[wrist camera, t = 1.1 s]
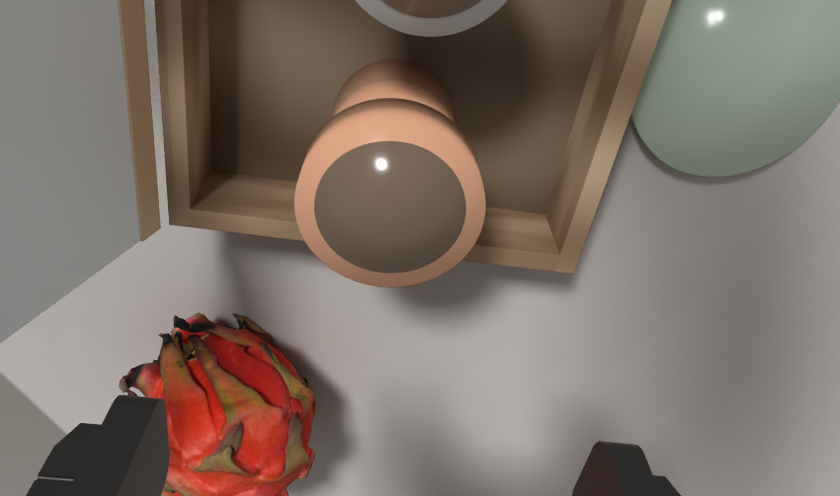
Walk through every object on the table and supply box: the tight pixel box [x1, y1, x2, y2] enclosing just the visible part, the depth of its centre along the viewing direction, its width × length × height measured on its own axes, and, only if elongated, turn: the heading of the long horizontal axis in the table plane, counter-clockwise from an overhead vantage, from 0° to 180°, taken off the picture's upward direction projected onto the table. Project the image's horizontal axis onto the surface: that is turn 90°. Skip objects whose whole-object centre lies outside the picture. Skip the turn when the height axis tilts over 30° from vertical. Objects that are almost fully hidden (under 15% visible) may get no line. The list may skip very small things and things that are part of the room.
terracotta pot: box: [294, 59, 486, 287], centre depth 22 cm, size 6×6×7 cm
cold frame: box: [154, 0, 672, 274], centre depth 18 cm, size 16×23×12 cm
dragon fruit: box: [119, 313, 316, 496], centre depth 30 cm, size 8×8×12 cm
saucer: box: [631, 0, 840, 177], centre depth 25 cm, size 8×8×1 cm
